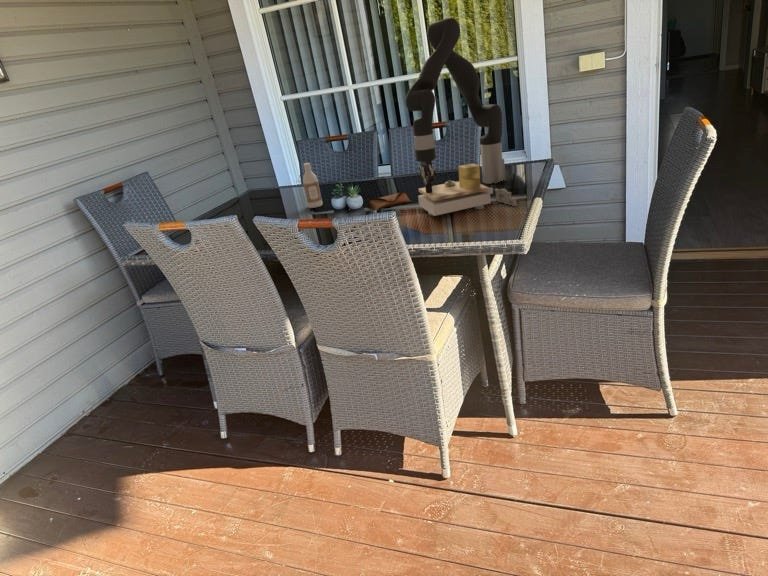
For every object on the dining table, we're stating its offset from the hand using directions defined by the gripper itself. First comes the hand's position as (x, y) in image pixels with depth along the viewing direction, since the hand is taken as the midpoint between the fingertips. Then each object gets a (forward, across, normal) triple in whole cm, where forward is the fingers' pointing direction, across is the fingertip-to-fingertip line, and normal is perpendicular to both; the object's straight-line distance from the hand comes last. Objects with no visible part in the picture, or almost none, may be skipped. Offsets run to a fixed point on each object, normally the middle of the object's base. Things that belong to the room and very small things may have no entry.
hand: (429, 192), depth 198 cm
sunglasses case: (+9, +27, +9) cm, 30 cm away
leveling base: (+8, 0, -10) cm, 13 cm away
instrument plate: (+1, 0, -10) cm, 10 cm away
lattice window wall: (+8, -8, -28) cm, 30 cm away
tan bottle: (+10, +53, +39) cm, 67 cm away
